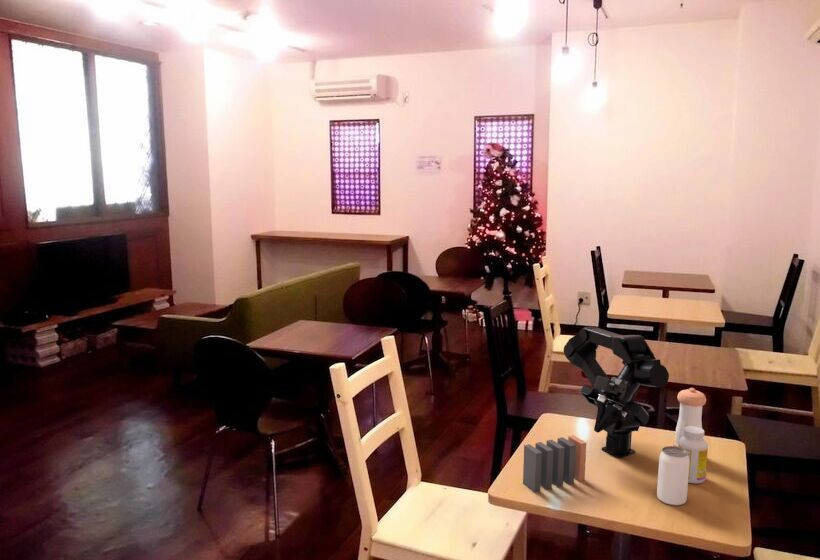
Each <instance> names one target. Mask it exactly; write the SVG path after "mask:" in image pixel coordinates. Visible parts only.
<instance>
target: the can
mask: <svg viewBox="0 0 820 560" xmlns="http://www.w3.org/2000/svg"><path fill="white" fill-rule="evenodd" d="M658 460H659V461H658V474H657V488H656V489H657V490H656V497H657V499H658V500H659V501H660V502H662V503H663V504H666V505H669V506H674V507H675V506H677V507H678V506H682V505H684V504H686V502H687V499H688V486H689V483H688V476H689V457H688V452H687V451H686V450H685V449H683V448H680V447H675V446H673V445H666V446H664V447H662V448H661V452H660V453H659V459H658Z"/></svg>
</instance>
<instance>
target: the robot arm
mask: <svg viewBox="0 0 820 560" xmlns="http://www.w3.org/2000/svg"><path fill="white" fill-rule="evenodd" d="M599 346H600V347H603V348H606V349H609V350H611V351H612V354H613V355H614V356H616V357H618V358H620V359H621V360H622V361H621V363H622V364H623V367H622V368H621V370H620V372H619V373H618V374H617V377H616V376H612V377H611V378H609V376H608V375H607V374H606V372H605V371H604V369H603V367H602V366H601V365H600V363H599V362H598V360H597V349H598V348H599ZM563 355H564V356H565V358H566V359H567V361H568V362H569V363H570V364H571V365H572V366H575V367H576V368H578V369H581V371H582V372H583V373H584V375H585V377H586V378H587V379H588V381H589V383H590V384H591V385H588V384H584V385H582V387H581V388H580V390H579V391H578V393H579V394H580V395H581V396H582V397H583V398H584V400H586V401H587V403H589V404H590V405H591V406H592V405H593V406H595V407H597V411H596V412H597V413H596V418H595V422H594V427H593V431H595V433H598V434H599V433H600V432H602V431H605V432H606V438H605V446H602V447H601V450H602V451H604V452H606V453H608V454H610V455H612V456H615V457H617V458H620V459H621V458H624V457H627V456H630V455H633V454H635V453H636V450H635V449H633V448H632V437H633V436H632V433H633V432H639V428H640V426H646V425H647V424H648V422H649V421H650V415H649V413H648V412H647V411H646V409H645V408H644V407H643V406H642V404H639V403H636V401H635V399H634V398H633V397H635V398H636V397H637V396H638V394H639V393H638V392H637V390H638V388H639V387H640V386H643V387H644V386H646V387H654V388H663V387H665V386H666V385H667V384H668V381H669V379H670V373H669V371H668V369H667V367H666V366H664V365H663V364H661V359H658V358H656V357H655V353H654V352H653V351H652V349H651V348H650V346H649V344H648V342H647V340H645V337H644V336H642V335H640V334H637V335H636V334H628V335H627V334H626V335H625V334H624V335H623V334H618V333H615V332H613V331H608V330H606V329H602V328H600V327H598V326H587V327H582V328H581V329H580V330H579V331H578V333H577V334H575V335H574V336H572V337H569V339H568V340H567V342H566V343H565V345H564V346H563Z"/></svg>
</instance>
